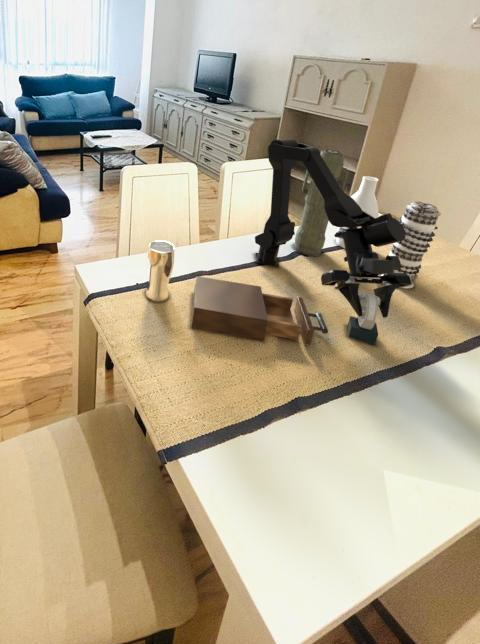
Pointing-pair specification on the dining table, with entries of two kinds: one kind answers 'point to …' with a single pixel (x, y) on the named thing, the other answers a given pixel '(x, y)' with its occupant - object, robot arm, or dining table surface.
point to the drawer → (290, 318)
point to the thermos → (317, 208)
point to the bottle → (364, 201)
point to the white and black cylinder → (415, 237)
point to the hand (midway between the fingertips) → (372, 316)
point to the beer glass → (159, 269)
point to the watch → (365, 320)
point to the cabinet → (229, 308)
